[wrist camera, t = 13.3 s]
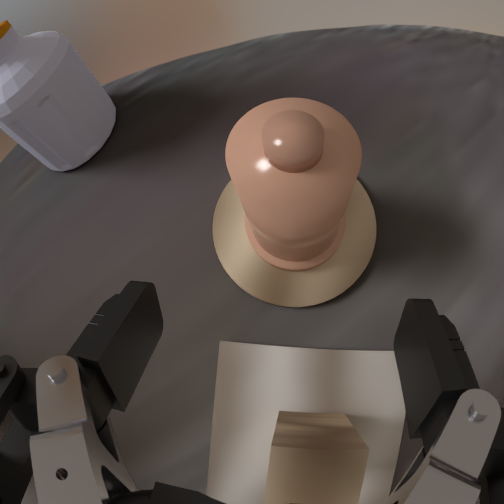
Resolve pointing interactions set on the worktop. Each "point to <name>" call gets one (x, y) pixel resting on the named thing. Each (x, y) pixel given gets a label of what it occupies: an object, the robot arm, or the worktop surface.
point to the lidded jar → (294, 179)
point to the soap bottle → (51, 99)
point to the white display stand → (304, 425)
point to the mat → (287, 282)
